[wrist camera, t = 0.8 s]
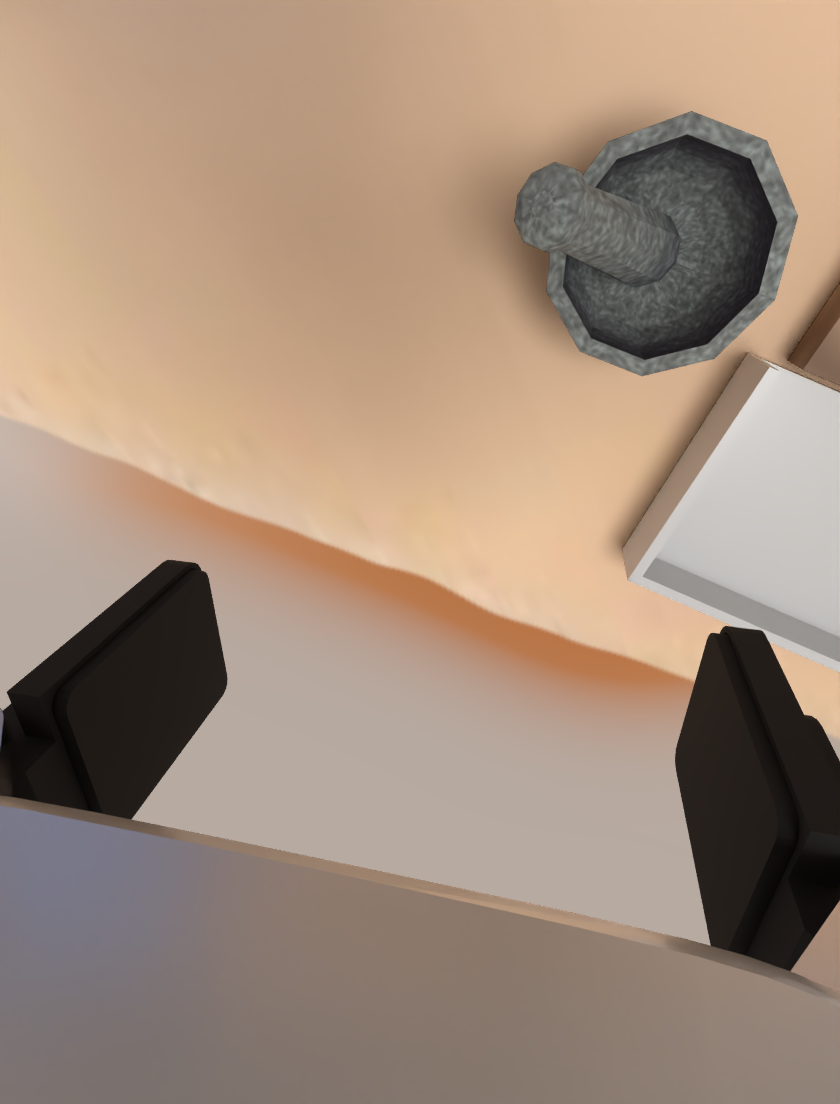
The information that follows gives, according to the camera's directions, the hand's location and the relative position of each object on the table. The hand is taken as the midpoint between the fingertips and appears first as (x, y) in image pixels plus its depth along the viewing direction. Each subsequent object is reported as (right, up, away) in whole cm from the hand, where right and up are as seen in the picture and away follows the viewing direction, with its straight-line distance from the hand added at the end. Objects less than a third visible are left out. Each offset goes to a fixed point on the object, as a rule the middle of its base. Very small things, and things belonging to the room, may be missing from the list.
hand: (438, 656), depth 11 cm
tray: (+23, +4, +24) cm, 34 cm away
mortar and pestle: (+11, +18, +20) cm, 29 cm away
